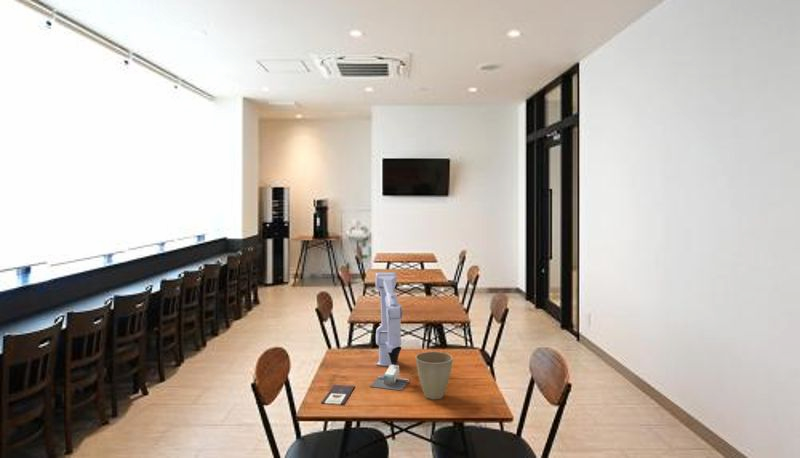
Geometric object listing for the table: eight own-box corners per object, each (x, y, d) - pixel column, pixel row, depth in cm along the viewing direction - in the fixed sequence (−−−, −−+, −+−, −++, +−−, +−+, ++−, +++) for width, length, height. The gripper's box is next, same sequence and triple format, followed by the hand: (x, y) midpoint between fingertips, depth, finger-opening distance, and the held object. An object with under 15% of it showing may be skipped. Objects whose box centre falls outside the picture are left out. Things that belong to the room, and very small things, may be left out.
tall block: (390, 364, 216) (383, 375, 208) (398, 365, 215) (392, 376, 207) (390, 372, 217) (384, 384, 209) (399, 373, 216) (393, 385, 208)
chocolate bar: (354, 386, 206) (343, 403, 188) (354, 388, 206) (343, 406, 188) (334, 384, 207) (321, 402, 190) (334, 387, 207) (321, 404, 190)
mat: (377, 379, 215) (377, 378, 215) (407, 383, 211) (407, 382, 211) (369, 386, 206) (369, 386, 206) (401, 390, 202) (401, 390, 202)
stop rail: (378, 378, 216) (378, 375, 216) (408, 381, 212) (408, 378, 212) (377, 379, 215) (377, 376, 215) (407, 382, 211) (407, 380, 211)
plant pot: (460, 398, 195) (460, 358, 194) (429, 406, 187) (429, 365, 186) (437, 386, 207) (437, 349, 206) (408, 393, 199) (408, 355, 198)
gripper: (390, 328, 222) (390, 357, 223) (379, 337, 208) (380, 368, 209) (405, 329, 220) (405, 359, 221) (395, 338, 206) (395, 369, 207)
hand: (394, 363), depth 215 cm, fingers closed
